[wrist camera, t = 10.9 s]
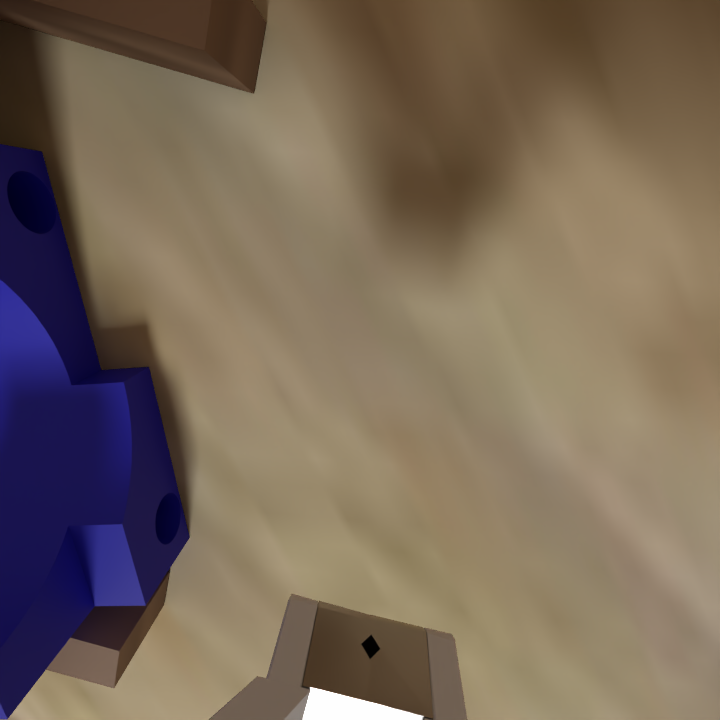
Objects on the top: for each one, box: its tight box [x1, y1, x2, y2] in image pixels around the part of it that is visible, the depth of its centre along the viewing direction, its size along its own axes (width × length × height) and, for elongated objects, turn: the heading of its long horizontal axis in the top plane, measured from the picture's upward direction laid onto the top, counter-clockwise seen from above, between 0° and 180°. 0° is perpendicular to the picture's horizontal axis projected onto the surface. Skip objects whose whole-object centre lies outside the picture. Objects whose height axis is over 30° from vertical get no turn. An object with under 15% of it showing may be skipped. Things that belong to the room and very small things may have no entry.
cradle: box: [0, 0, 266, 688], centre depth 12 cm, size 10×18×3 cm, turn 165°
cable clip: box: [0, 144, 190, 719], centre depth 11 cm, size 12×4×6 cm, turn 5°
